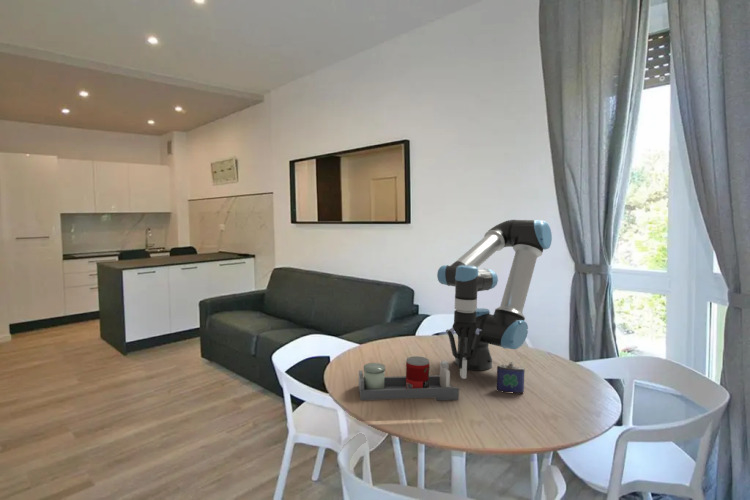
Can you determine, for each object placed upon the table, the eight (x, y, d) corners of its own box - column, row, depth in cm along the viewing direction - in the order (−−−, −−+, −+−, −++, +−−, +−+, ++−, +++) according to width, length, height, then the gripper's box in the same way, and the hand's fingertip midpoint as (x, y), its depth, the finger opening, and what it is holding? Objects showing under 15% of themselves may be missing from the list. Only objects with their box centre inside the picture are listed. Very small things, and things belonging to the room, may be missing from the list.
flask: (523, 391, 151) (524, 362, 150) (524, 395, 148) (525, 365, 147) (496, 388, 153) (497, 359, 152) (496, 392, 150) (497, 362, 149)
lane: (449, 385, 155) (449, 367, 155) (458, 399, 144) (458, 379, 143) (358, 388, 152) (358, 369, 152) (360, 402, 141) (360, 382, 140)
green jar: (383, 387, 151) (383, 362, 150) (386, 396, 144) (386, 370, 143) (362, 388, 150) (362, 363, 149) (364, 397, 143) (364, 370, 142)
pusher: (443, 383, 154) (444, 357, 153) (450, 394, 145) (451, 366, 144) (438, 384, 153) (439, 358, 153) (444, 394, 145) (445, 366, 144)
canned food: (428, 396, 144) (428, 364, 143) (404, 394, 145) (404, 362, 144) (429, 387, 151) (430, 357, 150) (407, 385, 153) (407, 355, 152)
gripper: (480, 308, 152) (477, 372, 153) (444, 308, 150) (442, 373, 152) (487, 312, 144) (484, 380, 146) (449, 312, 143) (447, 381, 145)
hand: (463, 377), depth 149 cm, fingers closed
